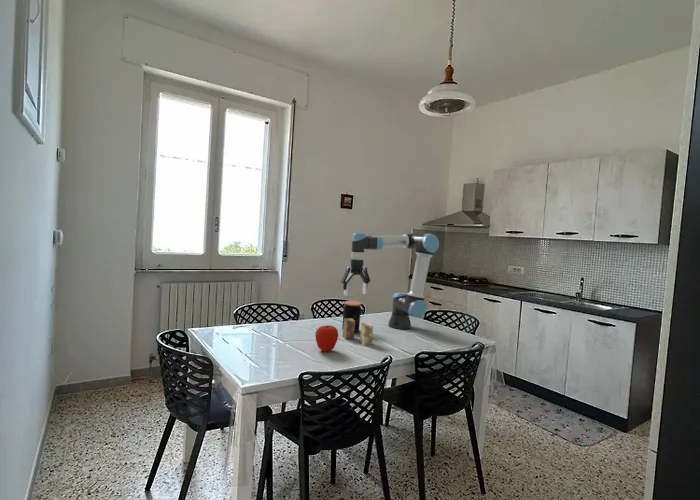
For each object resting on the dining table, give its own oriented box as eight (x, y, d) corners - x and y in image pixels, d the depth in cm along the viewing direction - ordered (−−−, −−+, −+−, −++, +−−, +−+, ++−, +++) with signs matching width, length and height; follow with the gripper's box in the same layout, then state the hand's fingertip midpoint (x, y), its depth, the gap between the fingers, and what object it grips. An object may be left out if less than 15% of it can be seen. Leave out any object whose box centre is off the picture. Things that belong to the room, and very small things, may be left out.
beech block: (368, 341, 227) (369, 323, 226) (372, 345, 221) (373, 325, 220) (359, 342, 225) (361, 323, 224) (363, 345, 219) (364, 325, 219)
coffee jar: (352, 334, 239) (354, 305, 238) (338, 330, 245) (340, 302, 244) (362, 331, 247) (364, 303, 246) (348, 327, 254) (350, 300, 253)
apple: (325, 345, 214) (327, 320, 213) (342, 351, 206) (344, 324, 206) (309, 350, 204) (311, 323, 204) (326, 356, 197) (328, 328, 196)
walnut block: (350, 336, 235) (352, 318, 234) (354, 339, 229) (355, 320, 229) (342, 336, 233) (343, 318, 233) (345, 339, 228) (347, 320, 227)
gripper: (369, 258, 243) (367, 292, 244) (336, 258, 228) (334, 294, 230) (377, 259, 237) (375, 294, 238) (343, 259, 222) (341, 296, 224)
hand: (355, 294), depth 234 cm, fingers open, 13 cm apart
